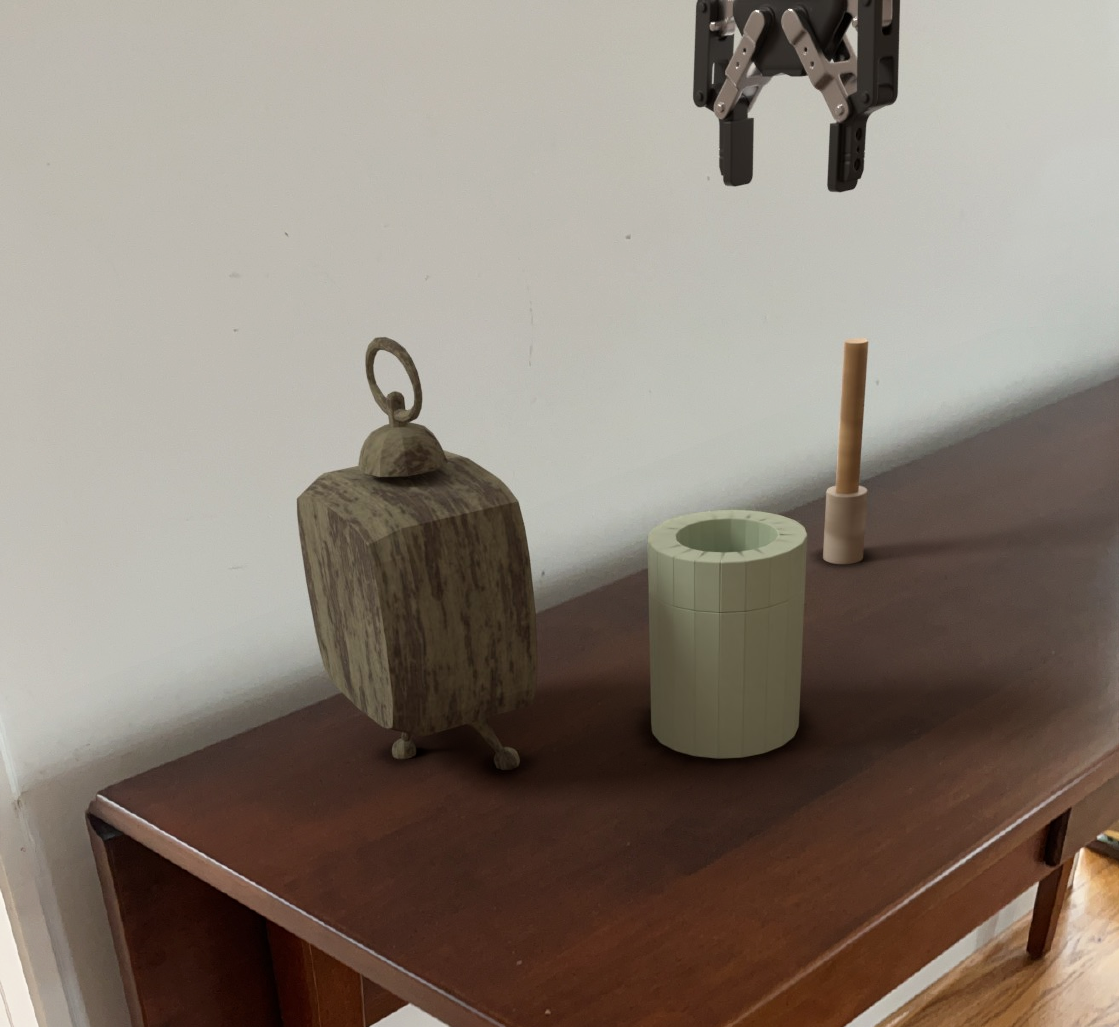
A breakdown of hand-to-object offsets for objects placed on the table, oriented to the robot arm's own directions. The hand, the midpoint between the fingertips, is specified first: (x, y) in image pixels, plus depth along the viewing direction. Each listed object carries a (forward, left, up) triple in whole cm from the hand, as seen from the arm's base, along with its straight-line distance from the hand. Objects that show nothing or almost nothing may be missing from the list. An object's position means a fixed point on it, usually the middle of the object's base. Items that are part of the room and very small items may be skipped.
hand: (788, 187), depth 91 cm
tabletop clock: (+24, +21, -29) cm, 43 cm away
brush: (-7, -10, -29) cm, 31 cm away
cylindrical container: (+5, +20, -29) cm, 35 cm away
